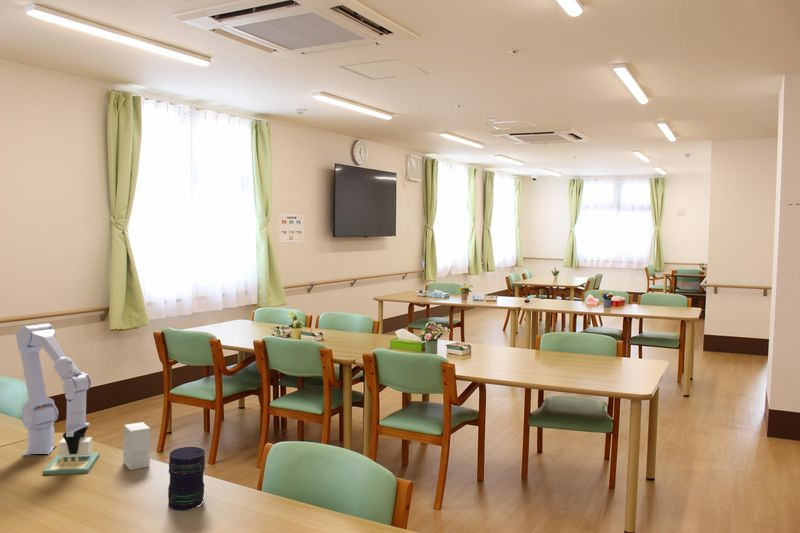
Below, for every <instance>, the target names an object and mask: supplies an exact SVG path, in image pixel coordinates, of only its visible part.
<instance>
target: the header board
mask: <svg viewBox="0 0 800 533" xmlns="http://www.w3.org/2000/svg"><path fill="white" fill-rule="evenodd" d="M99 457H100V452H90V453H89V455H76V456H58V453H57V454H56V455H55V457H54V458H53V459H52V460H51V461H50V462H49V463H48V464H47V465H46V467H45V468H44V469H43V470H42V475H43V474H50V475H70V474H72V475H73V474H87V473H88V474H89V472H90V470H91V469H92V467H94V464H95V463H96V461H97V460H98V459H99ZM97 458H98V459H97Z"/></svg>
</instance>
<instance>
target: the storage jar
mask: <svg viewBox="0 0 800 533" xmlns="http://www.w3.org/2000/svg"><path fill="white" fill-rule="evenodd" d="M205 454H206V450H205V449H204V448H201V447H198V446H185V447H178V448H176V449H173V450H172V451H170V452H169V459H168V460H169V462H168V474H169V484H168V487H167V497H168V500H167V501H168V504H167V505H168V508H170V510H173V511H179V512H182V511H183V512H184V511H185V510H186V511H190V510H189V509H192V508H195V507H197V506H198V505H200V504H201V503H202V501H203V502H204V494H205V483H204V472H205V468H206V467H205V465H206V459H205V456H206V455H205ZM195 509H196V508H195ZM192 510H193V509H192ZM186 511H185V512H186Z"/></svg>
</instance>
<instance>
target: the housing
mask: <svg viewBox="0 0 800 533" xmlns="http://www.w3.org/2000/svg"><path fill="white" fill-rule="evenodd" d="M92 451H93V436H86V437H85V436H84V437H81V438H80V441H79V446H78V451H77V454H69V450H68V446H67V443H66V441H65V439H64V438H61V440H60V441H58V452H57V454H58V456H76V455H89V453H92Z"/></svg>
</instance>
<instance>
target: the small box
mask: <svg viewBox="0 0 800 533" xmlns="http://www.w3.org/2000/svg"><path fill="white" fill-rule="evenodd" d="M123 426H124V428H123V455H122V456H123V458H122V462H123V464H124V465H125V466H126V467H127V469H129V470H130V471H132V470H138V469H143V468H147V467H150V463H151V462H150V460H151V459H150V458H151V456H150V455H151V454H150V453H151V427H150V426H148V425H147V423H145V422H143V421H141V422H134V423H127V424H124V425H123Z"/></svg>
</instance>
